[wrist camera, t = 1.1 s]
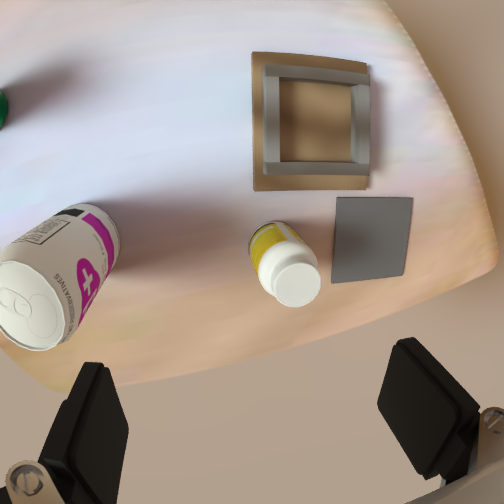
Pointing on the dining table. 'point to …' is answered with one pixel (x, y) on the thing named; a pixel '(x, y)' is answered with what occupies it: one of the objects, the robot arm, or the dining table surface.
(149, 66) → the dining table surface
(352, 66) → the block
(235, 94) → the dining table surface
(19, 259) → the supplement can
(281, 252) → the supplement bottle
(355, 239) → the mat
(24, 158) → the dining table surface
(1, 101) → the soda can
